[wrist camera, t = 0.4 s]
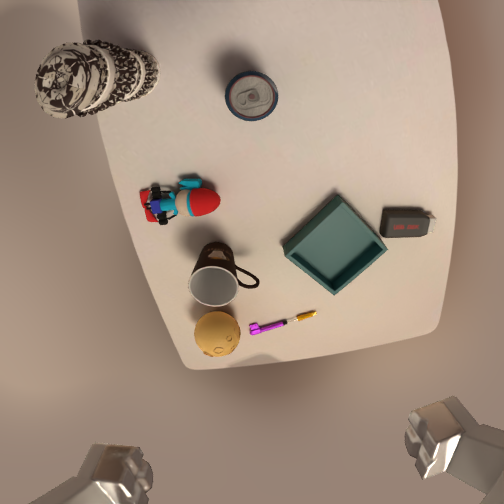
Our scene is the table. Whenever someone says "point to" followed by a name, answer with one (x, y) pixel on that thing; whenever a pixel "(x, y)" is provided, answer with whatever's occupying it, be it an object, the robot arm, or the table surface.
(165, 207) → the toy figure
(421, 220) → the usb drive
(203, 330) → the stress ball
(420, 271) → the table surface
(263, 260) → the table surface
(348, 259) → the bin
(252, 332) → the purple orange rod tool
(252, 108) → the soda can
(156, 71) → the decorative candle
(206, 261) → the coffee mug
